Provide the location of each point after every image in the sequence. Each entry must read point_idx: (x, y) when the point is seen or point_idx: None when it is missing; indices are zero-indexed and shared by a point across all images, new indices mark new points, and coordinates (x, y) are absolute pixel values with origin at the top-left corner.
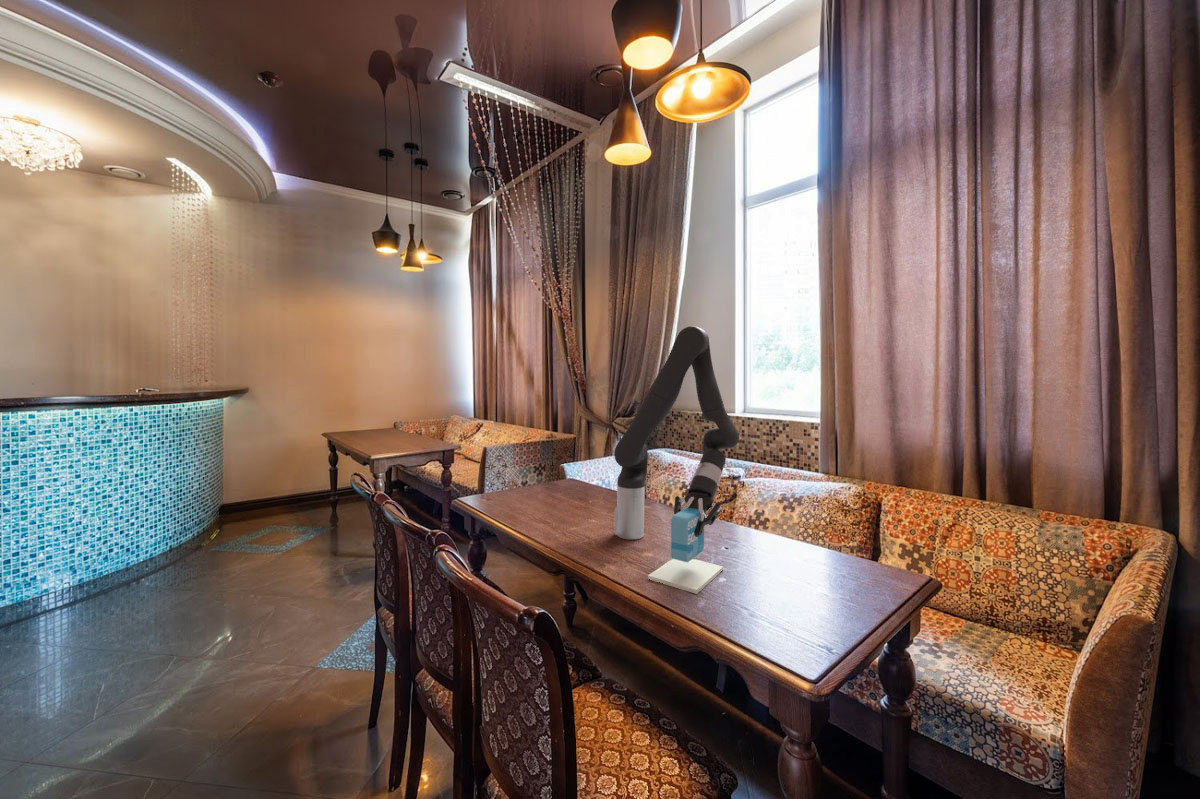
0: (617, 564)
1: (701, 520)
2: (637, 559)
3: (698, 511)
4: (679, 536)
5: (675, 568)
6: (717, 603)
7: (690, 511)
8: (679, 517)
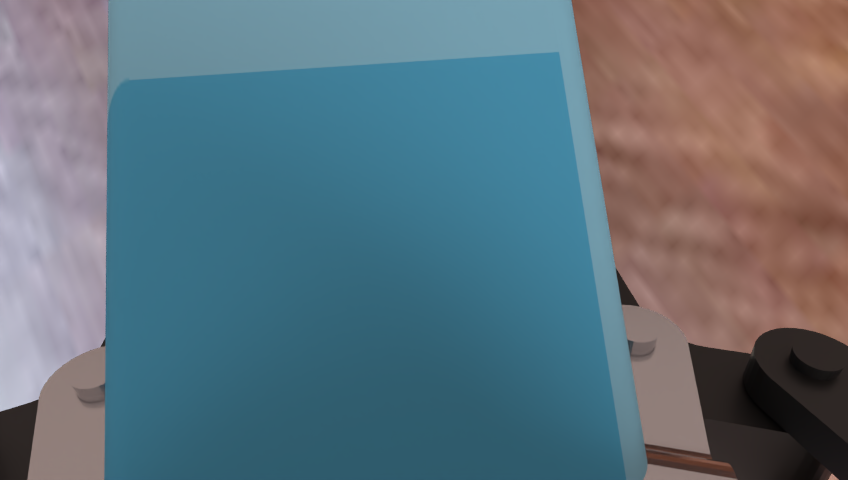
0: (837, 128)
1: (98, 364)
2: (808, 294)
3: (119, 433)
4: None
5: None
6: (44, 73)
7: (329, 247)
8: None
